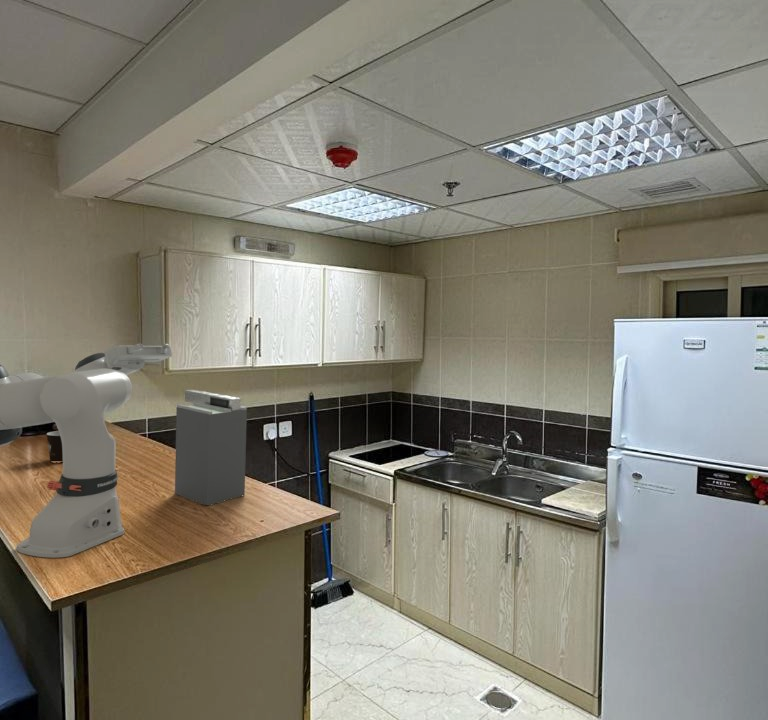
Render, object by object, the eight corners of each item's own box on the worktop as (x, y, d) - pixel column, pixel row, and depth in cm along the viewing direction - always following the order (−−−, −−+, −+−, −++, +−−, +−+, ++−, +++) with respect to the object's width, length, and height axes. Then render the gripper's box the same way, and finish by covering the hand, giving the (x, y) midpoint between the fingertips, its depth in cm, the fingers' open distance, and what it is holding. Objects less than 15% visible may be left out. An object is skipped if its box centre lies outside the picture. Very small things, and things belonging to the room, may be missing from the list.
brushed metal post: (240, 410, 154) (240, 398, 154) (230, 411, 152) (230, 399, 151) (193, 400, 169) (193, 389, 169) (183, 401, 166) (183, 390, 166)
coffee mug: (72, 463, 183) (72, 435, 182) (43, 464, 180) (43, 436, 179) (78, 455, 194) (78, 428, 193) (51, 456, 190) (51, 429, 190)
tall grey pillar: (244, 495, 157) (246, 407, 155) (206, 506, 146) (209, 411, 145) (212, 484, 166) (214, 400, 165) (174, 493, 156) (176, 404, 154)
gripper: (160, 367, 184) (184, 355, 177) (103, 368, 167) (127, 355, 160) (156, 350, 185) (180, 337, 178) (99, 350, 168) (123, 336, 161)
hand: (154, 346), depth 169 cm, fingers open, 8 cm apart
